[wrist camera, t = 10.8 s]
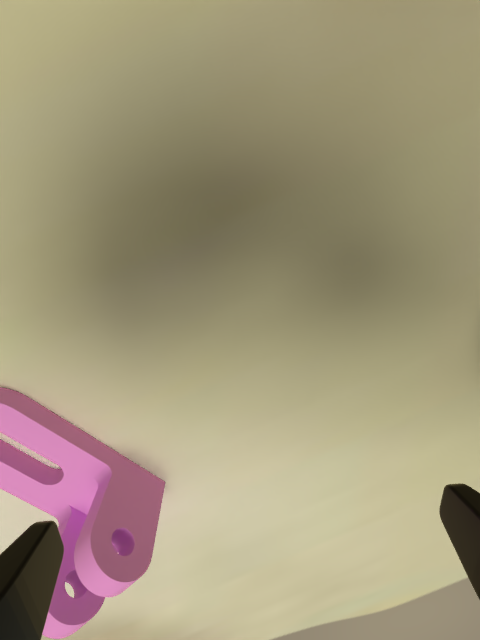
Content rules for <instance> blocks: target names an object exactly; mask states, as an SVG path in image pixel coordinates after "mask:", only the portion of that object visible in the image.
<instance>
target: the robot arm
mask: <svg viewBox="0 0 480 640" xmlns="http://www.w3.org/2000/svg"><path fill="white" fill-rule="evenodd" d="M440 517H441V520H442V523H443V525H444V527H445V529H446V531H447V533H448V535H449V537H450V540H451V542H452V544H453V546H454V548H455V550H456V552H457V554H458V556H459V559H460V561H461V563H462V565H463V567H464V569H465V571H466V573H467V575H468V578H469V580H470V582H471V584H472V586H473V588H474V590H475V592H476V594H477V596H478V597H479V599H480V493H479V492H477V491H475V490H474V489H472V488H471V487H469V486H467V485H465V484H449V485H446V486H445V488H444V491H443V496H442V500H441V505H440ZM63 554H64V545H63V542H62V539H61V536H60V533H59V530H58V527H57V525H56V523H55V522H54V521H43V522H36V523H34V524H33V525H31V526H30V527H29V528H28V529H27V530H26V531H25V532H24V533H23V534H22V535H21V536H19V537H18V538H17V539H16V540H15V541H14V542H13V543H12V544H11V545H10V546H9V547H8V548H7V549H6V550H5V551H4V552H2V553H1V554H0V640H41V636H42V633H43V629H44V626H45V622H46V619H47V615H48V611H49V607H50V604H51V600H52V596H53V593H54V589H55V585H56V581H57V578H58V574H59V570H60V567H61V563H62V559H63Z"/></svg>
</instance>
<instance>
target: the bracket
mask: <svg viewBox="0 0 480 640" xmlns="http://www.w3.org/2000/svg"><path fill="white" fill-rule="evenodd" d="M0 432H1V433H3V434H5V435H6V436H8V437H10V438H12V439H13V440H15V441H17V442H19V443H20V444H22V445H24V446H26V447H27V448H29V449H31V450H33V451H34V452H36V453H38V454H40V455H41V456H43V457H45V458H47V459H48V460H50V461H52V462H54V463H55V464H57V465H58V466H60V467H61V469H53V468H50V467H48V466H47V465H45V464H43V463H41V462H39V461H38V460H36V459H34V458H32V457H31V456H29V455H27V454H25V453H24V452H22V451H20V450H18V449H16V448H15V447H13V446H11V445H9V444H8V443H6V442H4V441H2V440H1V439H0V488H1V489H2V490H4V491H6V492H8V493H10V494H12V495H14V496H16V497H18V498H20V499H22V500H24V501H25V502H27V503H29V504H31V505H33V506H35V507H37V508H39V509H41V510H43V511H45V512H47V513H49V514H50V515H52V516H54V517H56V518H57V520H58V522H59V527H58V530H59V533H60V536H61V539H62V542H63V545H64V554H63V559H62V563H61V567H60V570H59V574H58V578H57V581H56V585H55V589H54V593H53V596H52V600H51V604H50V607H49V611H48V615H47V619H46V622H45V626H44V629H43V633H42V635H44V636H46V637H48V638H53V639H60V638H65V637H67V636H70V635H71V634H73V633H75V632H76V631H77V630H78V629H79V628H81V627H82V626H83V625H84V624H85V623H87V622H88V621H89V620H90V619H91V618H92V617H93V616H94V615H95V614H96V613H97V612H98V611H99V609H100V608H101V606H102V604H103V602H104V599H105V597H113V596H116V595H118V594H120V593H122V592H123V591H124V590H126V589H127V588H128V587H129V586H130V585H131V584H133V583H134V582H135V581H136V580H137V579H139V578H140V577H141V576H142V575H143V574H144V573H145V572H146V570H147V569H148V567H149V564H150V562H151V558H152V553H153V547H154V542H155V536H156V531H157V525H158V520H159V514H160V509H161V503H162V498H163V492H164V486H165V482H164V481H163V480H161V479H160V478H158V477H156V476H155V475H153V474H151V473H150V472H148V471H147V470H145V469H143V468H142V467H140V466H139V465H137V464H135V463H134V462H132V461H130V460H129V459H127V458H126V457H124V456H122V455H121V454H119V453H118V452H116V451H114V450H113V449H111V448H109V447H108V446H106V445H105V444H103V443H101V442H100V441H98V440H97V439H95V438H93V437H92V436H90V435H88V434H87V433H85V432H84V431H82V430H80V429H79V428H77V427H75V426H74V425H72V424H71V423H69V422H67V421H66V420H64V419H63V418H61V417H59V416H58V415H56V414H54V413H53V412H51V411H50V410H48V409H46V408H45V407H43V406H42V405H40V404H38V403H37V402H35V401H33V400H32V399H30V398H29V397H27V396H25V395H23V394H21V393H19V392H17V391H14V390H11V389H7V388H1V387H0ZM117 552H118V553H119V554H118V553H117ZM65 582H67V583H69V584H70V585H71V586H72V587H73V589H74V598H72V597H70V596H69V595H68V594H67V592H66V590H65Z"/></svg>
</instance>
